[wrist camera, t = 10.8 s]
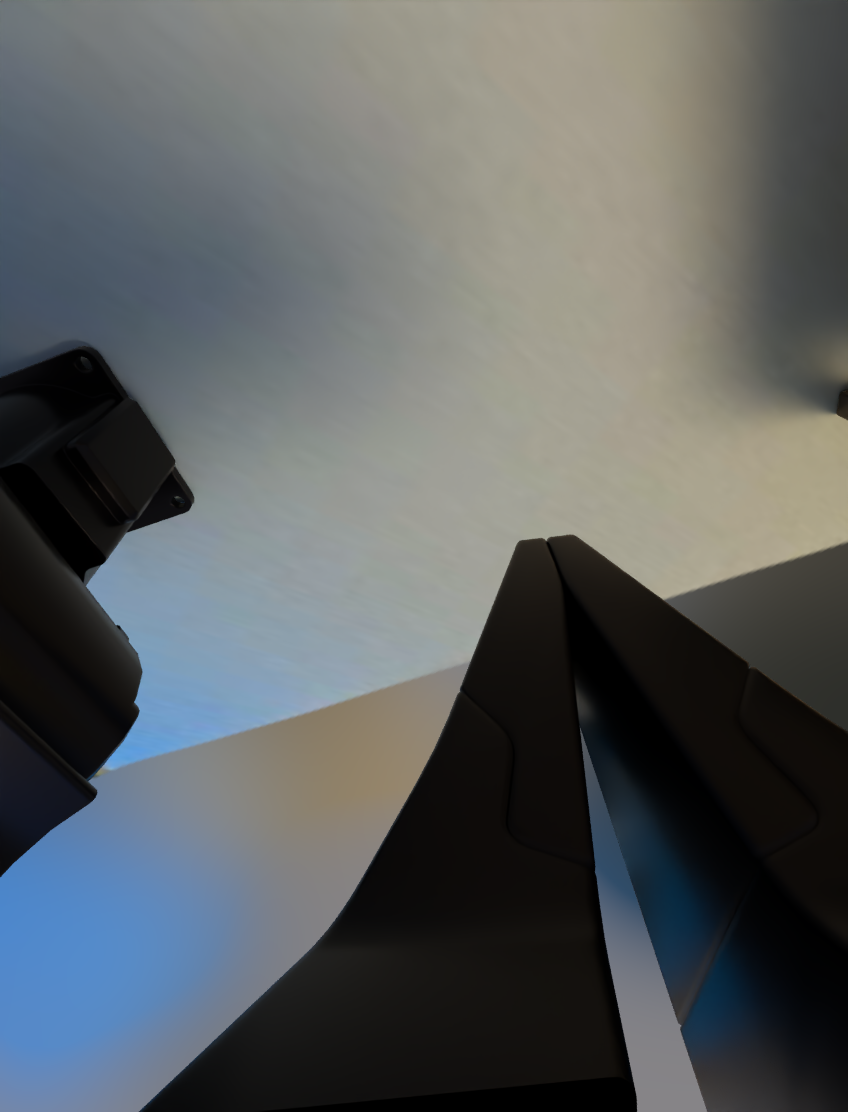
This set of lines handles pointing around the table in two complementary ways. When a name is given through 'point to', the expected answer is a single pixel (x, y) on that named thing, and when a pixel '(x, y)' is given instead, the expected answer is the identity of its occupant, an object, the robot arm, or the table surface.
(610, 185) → the table surface
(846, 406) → the desk shelf
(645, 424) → the table surface
